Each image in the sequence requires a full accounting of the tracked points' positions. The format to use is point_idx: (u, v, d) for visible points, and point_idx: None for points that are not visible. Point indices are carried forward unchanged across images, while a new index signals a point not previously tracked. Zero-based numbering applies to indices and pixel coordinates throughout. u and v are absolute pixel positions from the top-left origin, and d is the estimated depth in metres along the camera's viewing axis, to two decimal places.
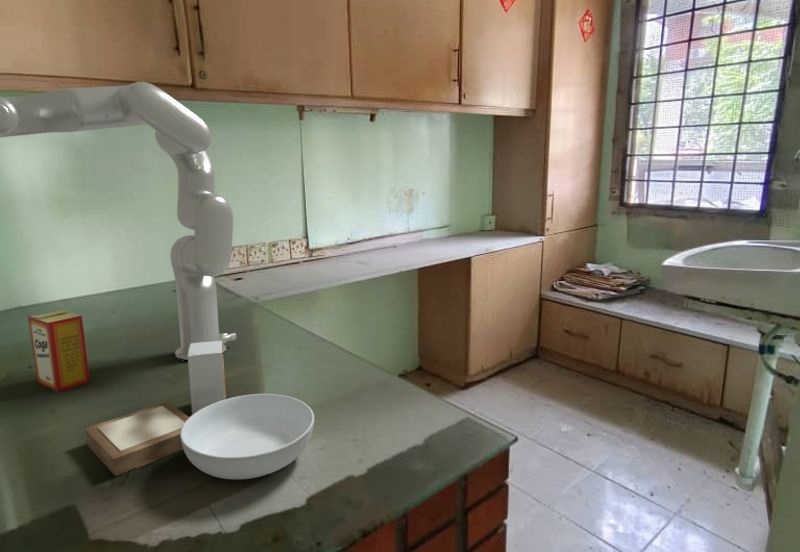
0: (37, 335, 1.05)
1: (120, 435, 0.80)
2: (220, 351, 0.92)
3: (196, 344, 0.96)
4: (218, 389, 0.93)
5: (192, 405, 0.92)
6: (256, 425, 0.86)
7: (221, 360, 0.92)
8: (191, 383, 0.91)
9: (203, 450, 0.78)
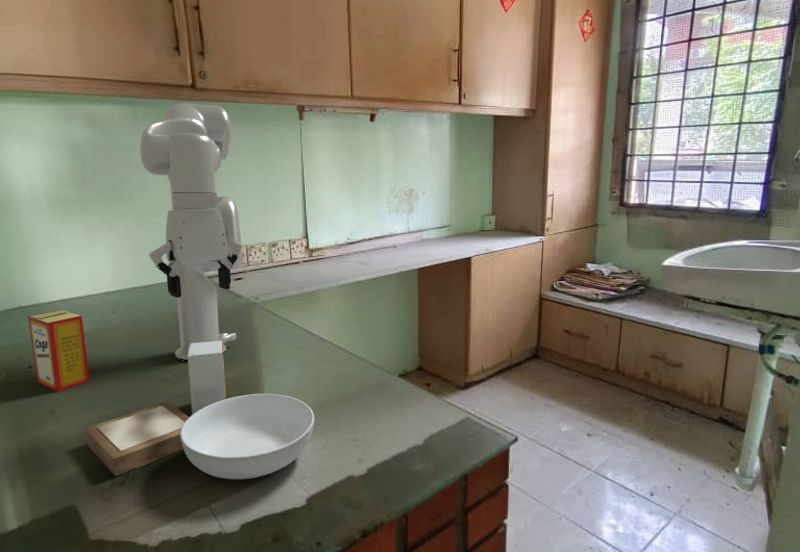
0: (37, 335, 1.05)
1: (120, 435, 0.80)
2: (220, 351, 0.92)
3: (196, 344, 0.96)
4: (218, 389, 0.93)
5: (192, 405, 0.92)
6: (256, 425, 0.86)
7: (221, 360, 0.92)
8: (191, 383, 0.91)
9: (203, 450, 0.78)
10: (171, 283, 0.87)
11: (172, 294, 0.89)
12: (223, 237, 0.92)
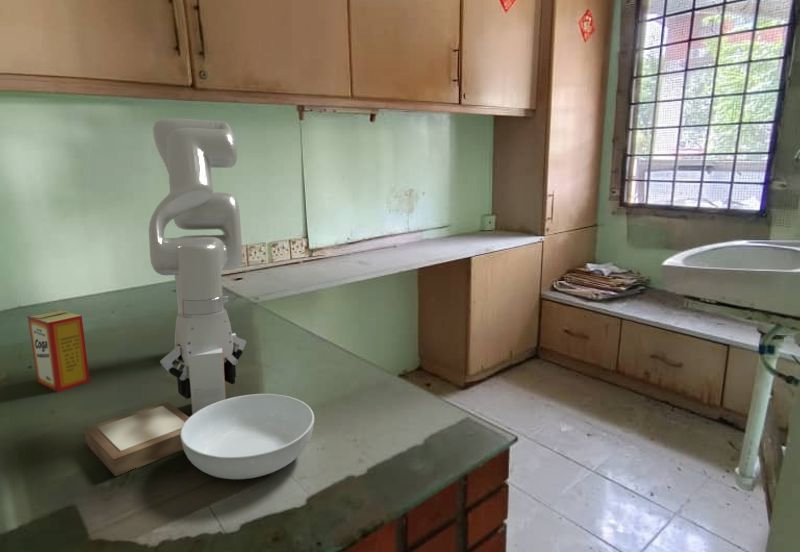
0: (37, 335, 1.05)
1: (120, 435, 0.80)
2: (220, 351, 0.92)
3: None
4: (219, 389, 0.93)
5: (192, 405, 0.91)
6: (256, 425, 0.86)
7: (221, 360, 0.92)
8: (191, 383, 0.91)
9: (203, 450, 0.78)
10: (181, 386, 0.91)
11: (182, 394, 0.93)
12: (229, 336, 0.95)
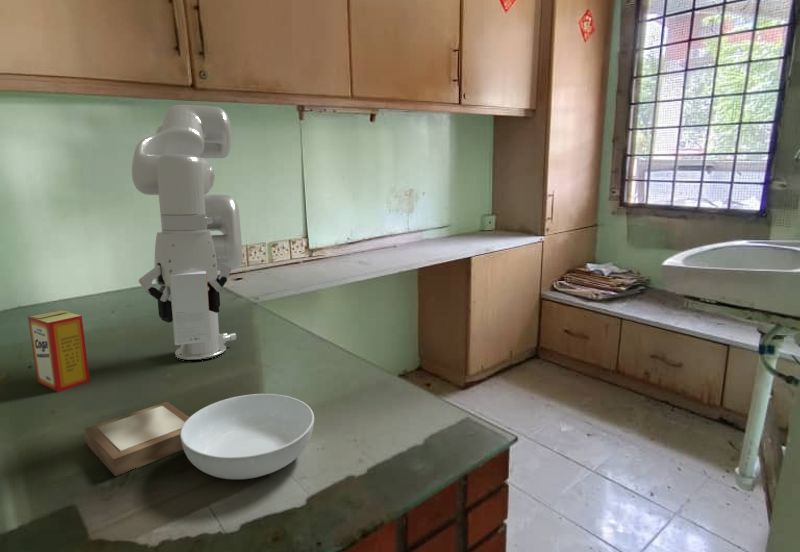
0: (37, 335, 1.05)
1: (120, 435, 0.80)
2: (204, 272, 0.87)
3: None
4: (203, 313, 0.87)
5: (174, 329, 0.86)
6: (256, 425, 0.86)
7: (205, 282, 0.87)
8: (173, 305, 0.85)
9: (203, 450, 0.78)
10: (162, 308, 0.85)
11: (163, 319, 0.87)
12: (213, 258, 0.90)
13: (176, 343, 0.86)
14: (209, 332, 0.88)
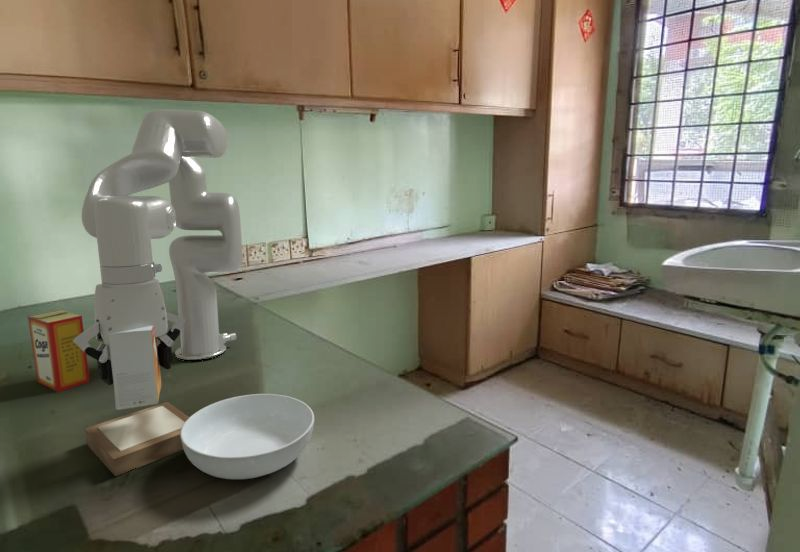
0: (37, 335, 1.05)
1: (120, 435, 0.80)
2: (149, 328, 0.78)
3: None
4: (148, 373, 0.78)
5: (115, 393, 0.77)
6: (256, 425, 0.86)
7: (150, 339, 0.78)
8: (113, 366, 0.76)
9: (203, 450, 0.78)
10: (101, 369, 0.76)
11: (104, 380, 0.78)
12: (162, 311, 0.81)
13: (118, 408, 0.77)
14: (156, 394, 0.79)
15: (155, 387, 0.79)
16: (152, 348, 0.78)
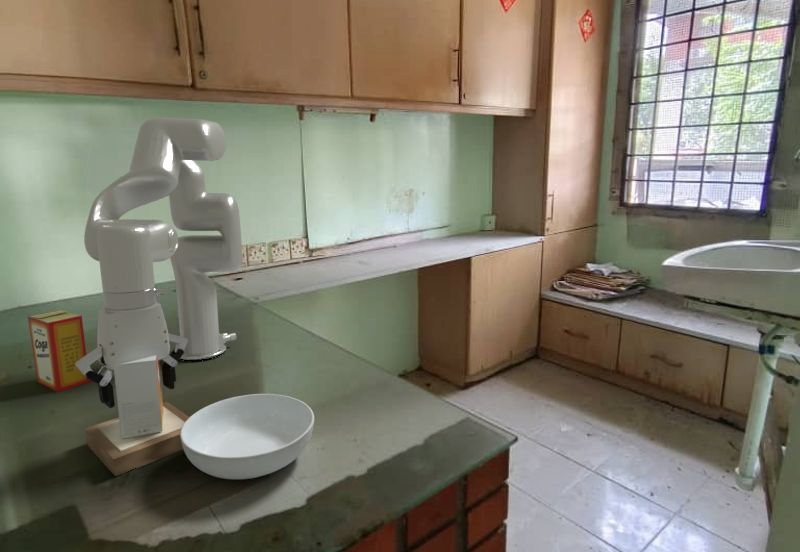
0: (37, 335, 1.05)
1: (120, 435, 0.80)
2: (154, 358, 0.79)
3: None
4: (152, 402, 0.80)
5: (120, 422, 0.78)
6: (256, 425, 0.86)
7: (155, 369, 0.79)
8: (118, 397, 0.77)
9: (203, 450, 0.78)
10: (102, 393, 0.77)
11: (105, 402, 0.79)
12: (165, 334, 0.82)
13: (123, 437, 0.79)
14: (160, 422, 0.81)
15: (159, 415, 0.81)
16: (156, 378, 0.79)
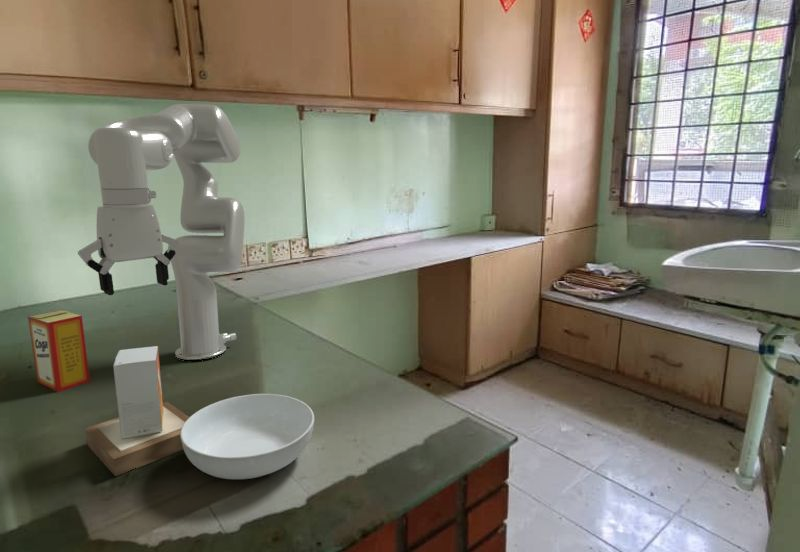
0: (37, 335, 1.05)
1: (120, 435, 0.80)
2: (154, 358, 0.79)
3: (126, 351, 0.83)
4: (152, 402, 0.80)
5: (120, 422, 0.78)
6: (256, 425, 0.86)
7: (155, 369, 0.79)
8: (118, 397, 0.77)
9: (203, 450, 0.78)
10: (103, 281, 0.86)
11: (105, 291, 0.88)
12: (158, 233, 0.90)
13: (123, 437, 0.79)
14: (160, 422, 0.81)
15: (159, 415, 0.81)
16: (156, 378, 0.79)
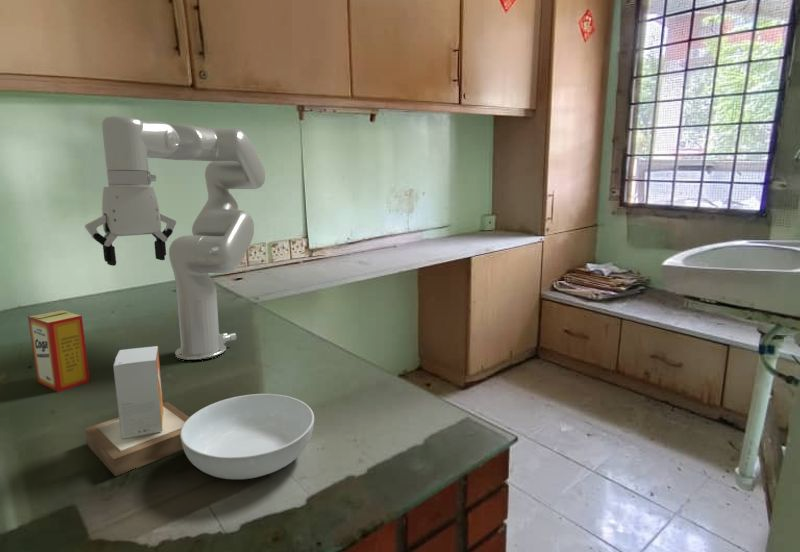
0: (37, 335, 1.05)
1: (120, 435, 0.80)
2: (154, 358, 0.79)
3: (126, 351, 0.83)
4: (152, 402, 0.80)
5: (120, 422, 0.78)
6: (256, 425, 0.86)
7: (155, 369, 0.79)
8: (118, 397, 0.77)
9: (203, 450, 0.78)
10: (106, 252, 0.96)
11: (108, 263, 0.98)
12: (157, 212, 1.01)
13: (123, 437, 0.79)
14: (160, 422, 0.81)
15: (159, 415, 0.81)
16: (156, 378, 0.79)
